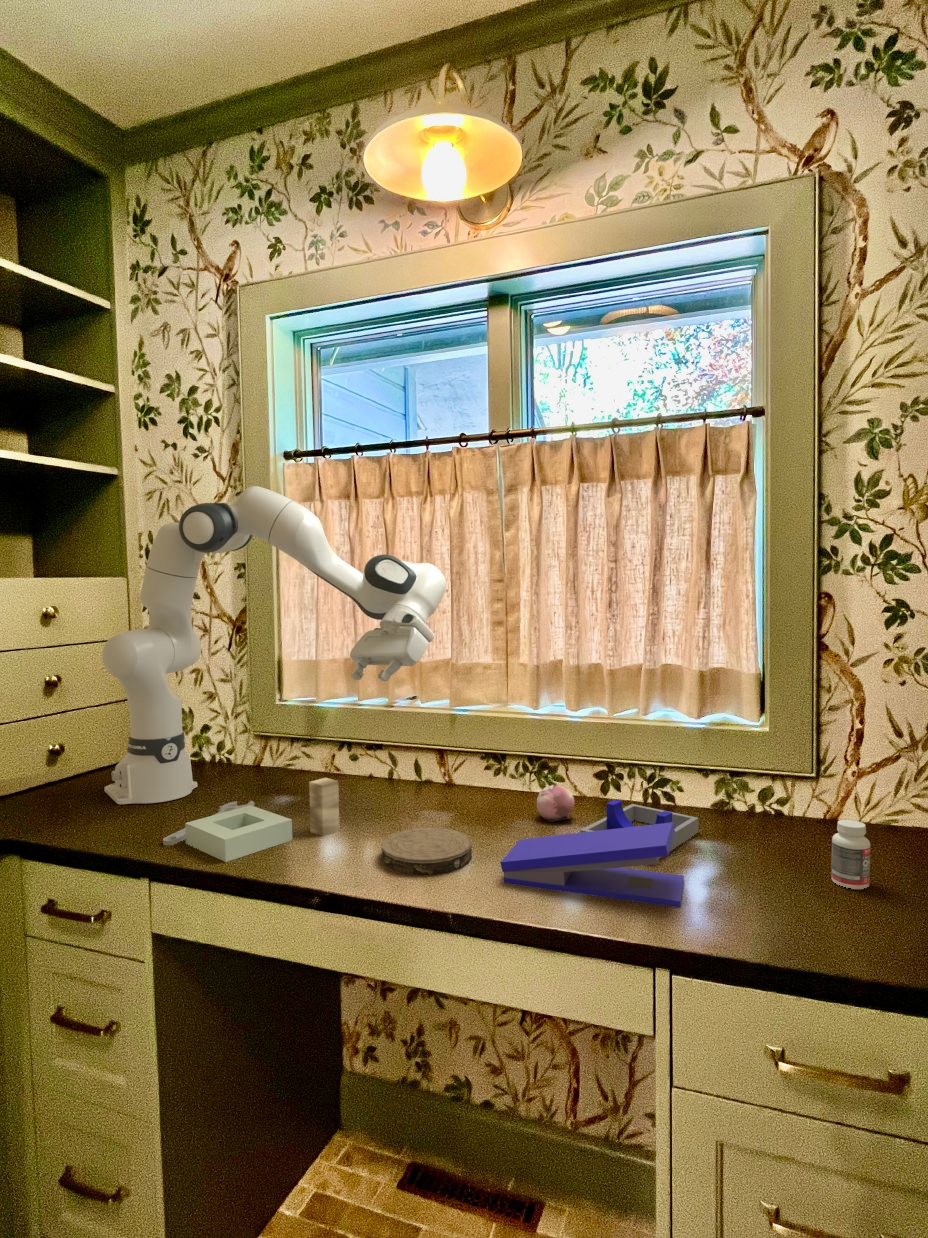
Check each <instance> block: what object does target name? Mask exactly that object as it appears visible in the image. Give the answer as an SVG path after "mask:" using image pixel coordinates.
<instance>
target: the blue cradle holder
mask: <svg viewBox="0 0 928 1238" xmlns="http://www.w3.org/2000/svg"><path fill="white" fill-rule="evenodd" d="M622 802H623V800H618V799H614V800H611V801H609V802H607V803H606V817H607V830H609V829H618V828H626V827H635V826H636V825H634V824H633V822H630V821H629V820H628V819H627V817H626V816H625V814H624V811H623V808H624V807H623V803H622ZM672 812H673V811H668V812H667V810H664V812H662V813H660V814H658V815H657V818H656V823H655V824H661V823H670V822H672ZM675 828H676V827H675V826H674V829H675Z"/></svg>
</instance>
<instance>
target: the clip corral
mask: <svg viewBox="0 0 928 1238" xmlns="http://www.w3.org/2000/svg"><path fill="white" fill-rule="evenodd" d="M622 808H623V811H624V814H625V816H626V817H627V819H628V820H629V821H630V822H631V823H633V822H634V820H635V822H640V823H643V822H644V823H643V824H647V823H649V824H648V825H652V824H655V823H656V818H657V815H658V814H660V813H662V812H664V811H665V810H663V809H658V808H653V807H650V806H649V807H648V806H644V805H640V804H639V805H638V804H635V803H631V804H629V805H626V807H622ZM666 811H667V810H666ZM667 812H669V810H668V811H667ZM671 812H672V822H673V826H675V827H676V828H675V829H674V830H675V834H674V837H673V841H672V845H671V848H670V851H671V852H673V849H674V850H675V849H676V847H677V846H678V847H680V846H681V845H682V844H681V843H683V842H684V841H686V840H687V841H689V840H690V839H692V838H693V837H695V836H696V835H697V834H696V833H698V834H699V817H697V816H691V815H687V814H681V813H677V812H673V811H671ZM632 821H633V822H632ZM600 830H607V816H604V817H603V818H601V819H599V820H597V821H595V822H593V823H591V824H590V825H586V826H585V827H583V828H581V829H580V831H579V833H583V832H591V831H600ZM695 834H696V835H695ZM694 835H695V836H694ZM692 836H693V837H692ZM691 837H692V838H691ZM689 838H690V839H689ZM688 839H689V840H688ZM687 841H686V842H687ZM684 843H685V842H684ZM684 843H683V844H684ZM680 844H681V845H680ZM679 845H680V846H679ZM678 847H677V848H678ZM661 858H662V857H659V860H660V859H661Z"/></svg>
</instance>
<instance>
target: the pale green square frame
mask: <svg viewBox="0 0 928 1238" xmlns="http://www.w3.org/2000/svg"><path fill="white" fill-rule="evenodd" d="M215 814H216V813H215ZM212 815H213V816H212ZM212 815H210V816H206V817H202V818H198V819H195V820H192V821H187V822H185V825H184V826H185V827H184V828H185V833H186V840H185V844H186V845H187V844H188V845H187V846H189V845H190V846H189V847H192V846H193V847H192V848H194V849H196V848H197V849H196V850H198V849H199V850H198V851H200V852H203V853H205V854H207V855H209V856H212V857H214V858H216V859H218V860H221V861H223V862H225V863H228V862H231V861H234V860H236V859H239V858H243V857H245V856H248V855H251V854H254V853H257V852H261V851H263V850H267V849H270V848H273V847H275V846H278V845H282V844H285V843H288V842H291V841H293V822H292V821H293V819H292V818H288V817H286V816H283V815H280V814H277V813H275V812H271V811H269V810H265V809H263V808H260V807H257V806H255V807H254V806H251V805H249V806H246V807H242V808H238V809H235V810H231V811H227V812H224V813H220V814H216V815H214V814H212Z"/></svg>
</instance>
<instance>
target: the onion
mask: <svg viewBox="0 0 928 1238" xmlns="http://www.w3.org/2000/svg"><path fill="white" fill-rule="evenodd" d="M537 795H538V796H537V798H536V809H537V811H538V813H539V814H540V816H541V817H542V818H543V819H544V820H546V821H548V823H551V822H556V821H557V822H558V821H565V820H568V819H571V818H572V817H571V816H569V814H570V813H571V811H572V810H573V809H574V807H575V798H574V795H573V794H572V793H571V791H569V790H568V789H566V788H565V787H563V786H559V785H554V784H551V785H549V786H545V787H543V788H542V790H540V791H539V792H538V794H537Z"/></svg>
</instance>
